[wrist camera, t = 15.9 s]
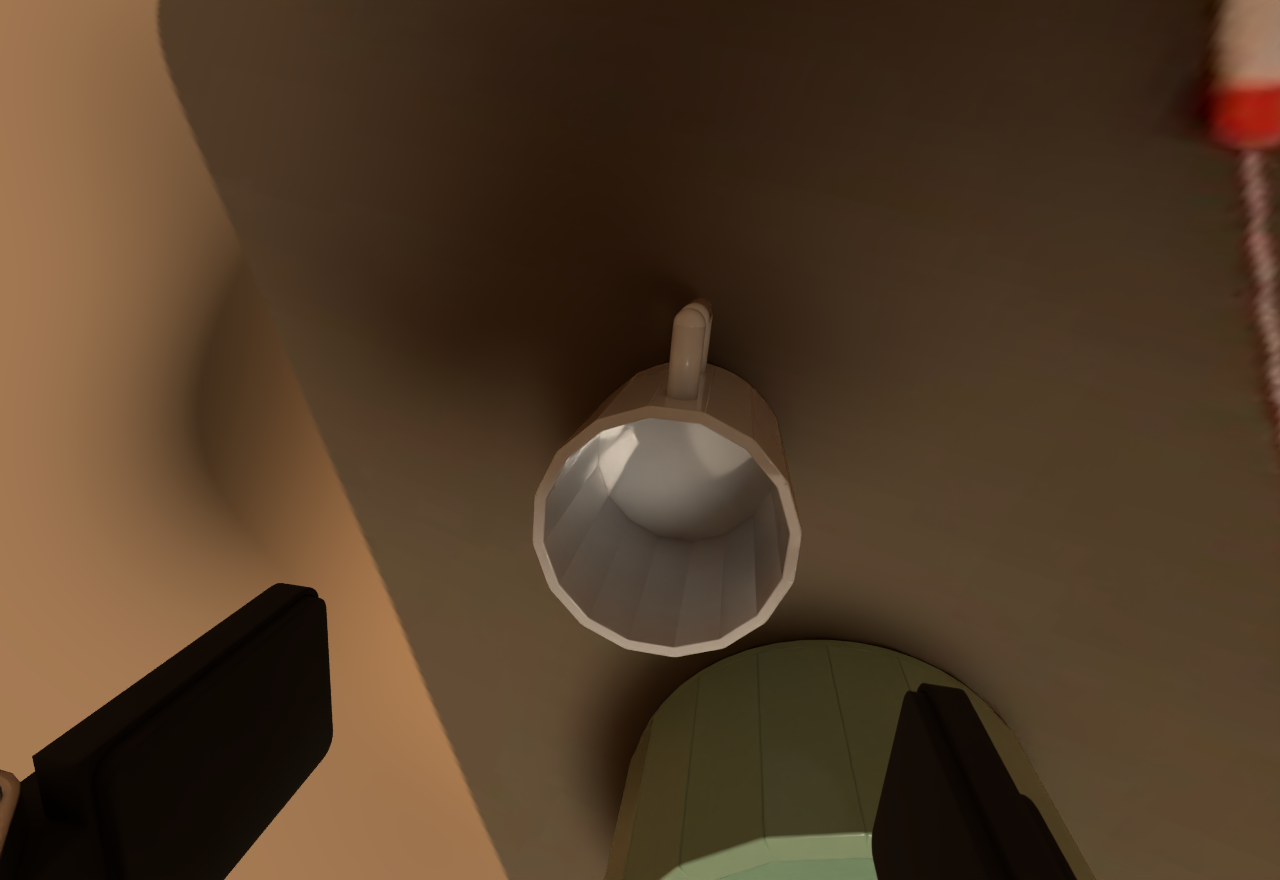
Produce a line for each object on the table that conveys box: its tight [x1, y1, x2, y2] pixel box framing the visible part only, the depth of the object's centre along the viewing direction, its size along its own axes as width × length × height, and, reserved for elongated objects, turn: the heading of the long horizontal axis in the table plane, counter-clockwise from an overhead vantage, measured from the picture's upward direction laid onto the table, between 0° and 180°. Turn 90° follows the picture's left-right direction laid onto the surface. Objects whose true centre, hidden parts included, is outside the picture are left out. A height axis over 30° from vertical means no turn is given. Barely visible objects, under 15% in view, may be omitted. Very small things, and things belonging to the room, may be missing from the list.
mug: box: [533, 298, 802, 657], centre depth 19 cm, size 9×7×7 cm
